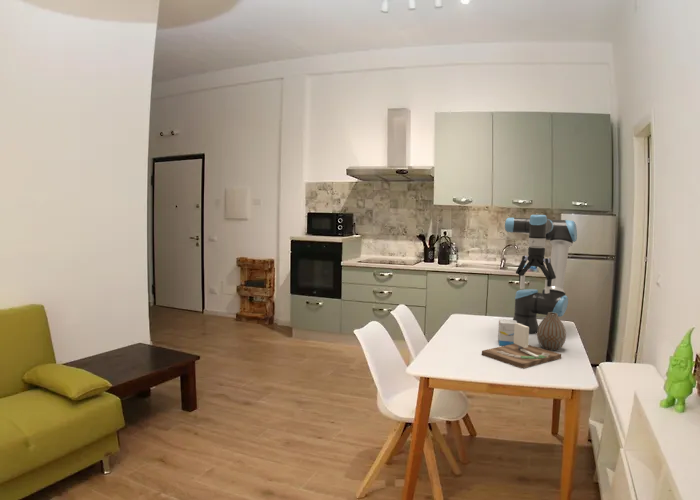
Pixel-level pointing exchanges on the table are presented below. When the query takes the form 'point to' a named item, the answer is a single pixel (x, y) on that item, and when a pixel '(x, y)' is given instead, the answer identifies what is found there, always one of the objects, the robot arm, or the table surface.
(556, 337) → the vase
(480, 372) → the table surface
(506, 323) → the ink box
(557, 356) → the board
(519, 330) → the cream dial pointer
